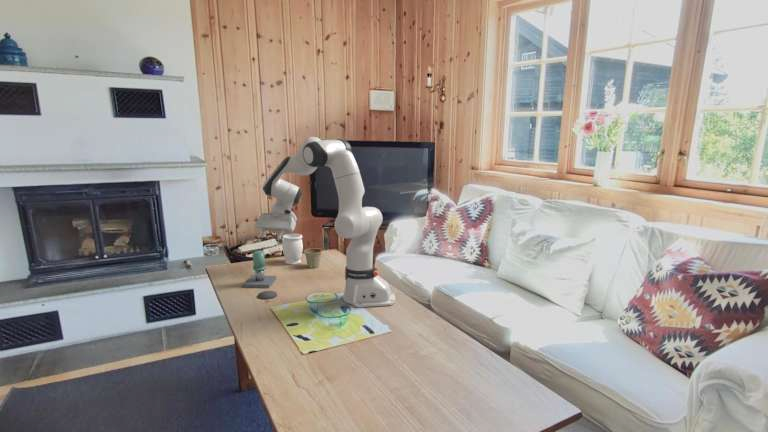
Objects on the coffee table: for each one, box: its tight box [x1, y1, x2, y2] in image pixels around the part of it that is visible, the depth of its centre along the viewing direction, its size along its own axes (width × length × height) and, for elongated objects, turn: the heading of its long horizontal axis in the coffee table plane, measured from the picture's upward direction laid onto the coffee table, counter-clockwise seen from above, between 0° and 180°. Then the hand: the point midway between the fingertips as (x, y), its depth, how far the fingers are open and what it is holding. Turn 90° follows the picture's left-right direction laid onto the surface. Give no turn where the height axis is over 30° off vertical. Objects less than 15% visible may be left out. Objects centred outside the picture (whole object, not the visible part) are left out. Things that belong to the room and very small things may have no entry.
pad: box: [257, 290, 278, 300], centre depth 181 cm, size 8×8×1 cm
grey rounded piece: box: [254, 270, 265, 281], centre depth 195 cm, size 4×6×6 cm, turn 179°
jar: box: [282, 233, 304, 266], centre depth 225 cm, size 11×10×15 cm
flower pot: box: [303, 247, 323, 269], centre depth 220 cm, size 9×9×9 cm
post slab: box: [242, 274, 277, 289], centre depth 195 cm, size 12×12×2 cm
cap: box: [252, 250, 267, 272], centre depth 193 cm, size 6×6×8 cm
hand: (269, 237), depth 201 cm, fingers open, 8 cm apart
